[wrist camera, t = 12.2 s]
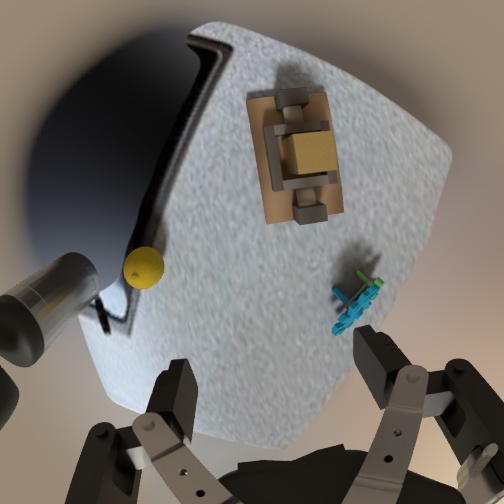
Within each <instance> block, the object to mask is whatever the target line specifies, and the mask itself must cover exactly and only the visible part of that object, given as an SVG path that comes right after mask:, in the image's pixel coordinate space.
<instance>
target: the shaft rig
mask: <svg viewBox="0 0 504 504" xmlns="http://www.w3.org/2000/svg"><path fill="white" fill-rule="evenodd" d="M246 105H247V111H248V116H249V122H250V128H251V133H252V139H253V145H254V151H255V157H256V163H257V169H258V175H259V181H260V187H261V193H262V199H263V205H264V212H265V218H266V223H267V224H273V223H279V222H285V221H291V220H295V221H296V222H297V223H298V224H299V225H304V224H311V223H317V222H323V221H328V216H327V215H330V214H337V213H344V207H343V197H342V188H341V180H340V172H339V165H338V158H337V151H336V144H335V138H334V132H333V126H332V120H331V115H330V109H329V104H328V99H327V94H326V92H318V93H308V92H307V88H294V89H282V90H277V92H276V94H275V96H271V97H263V98H255V99H248V100H246ZM322 131H332V136H333V142H334V149H335V155H336V162H337V170H332V171H323V172H315V173H307V174H292V173H286V169H285V163H284V157H283V150H282V144H281V142H282V141H283V140H285V139H286V138H288V137H289V136H291V135H292V134H301V133H311V132H322Z"/></svg>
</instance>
